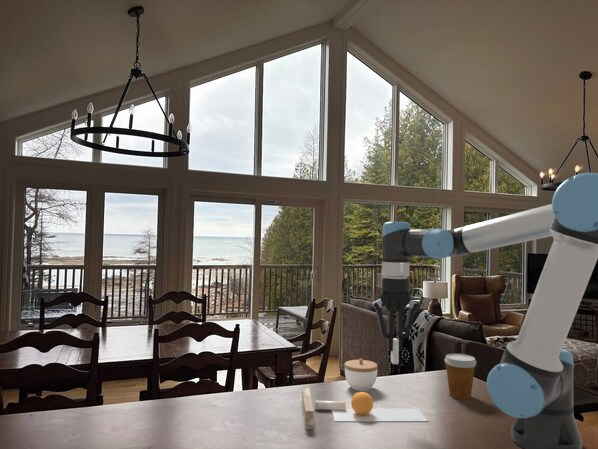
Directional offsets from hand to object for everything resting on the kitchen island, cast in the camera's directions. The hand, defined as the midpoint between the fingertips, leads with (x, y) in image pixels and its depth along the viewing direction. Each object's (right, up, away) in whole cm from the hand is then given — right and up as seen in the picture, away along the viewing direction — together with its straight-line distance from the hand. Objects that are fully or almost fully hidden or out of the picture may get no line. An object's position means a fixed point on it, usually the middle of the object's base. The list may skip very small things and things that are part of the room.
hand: (394, 362), depth 129 cm
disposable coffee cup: (+24, -16, +16) cm, 33 cm away
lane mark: (-5, -14, -1) cm, 15 cm away
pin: (-13, -13, +3) cm, 19 cm away
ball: (-9, -11, 0) cm, 14 cm away
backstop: (-24, -14, -1) cm, 28 cm away
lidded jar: (-6, -15, +23) cm, 28 cm away
